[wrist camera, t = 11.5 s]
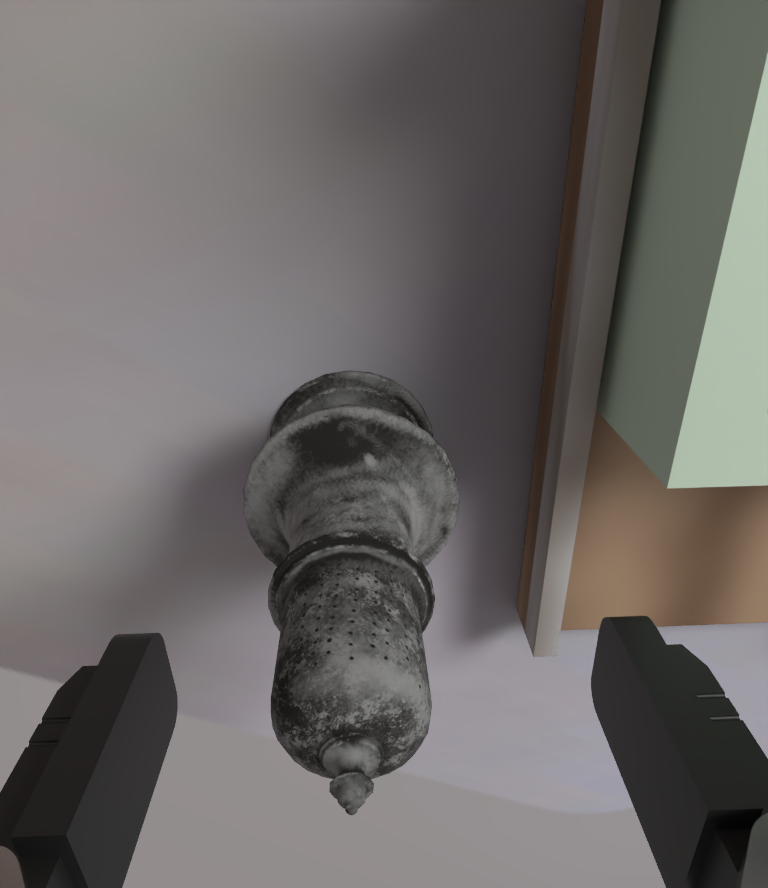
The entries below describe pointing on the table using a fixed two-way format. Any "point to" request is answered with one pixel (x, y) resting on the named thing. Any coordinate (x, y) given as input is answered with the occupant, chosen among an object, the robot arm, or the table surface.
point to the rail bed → (588, 434)
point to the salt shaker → (351, 573)
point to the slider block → (697, 256)
